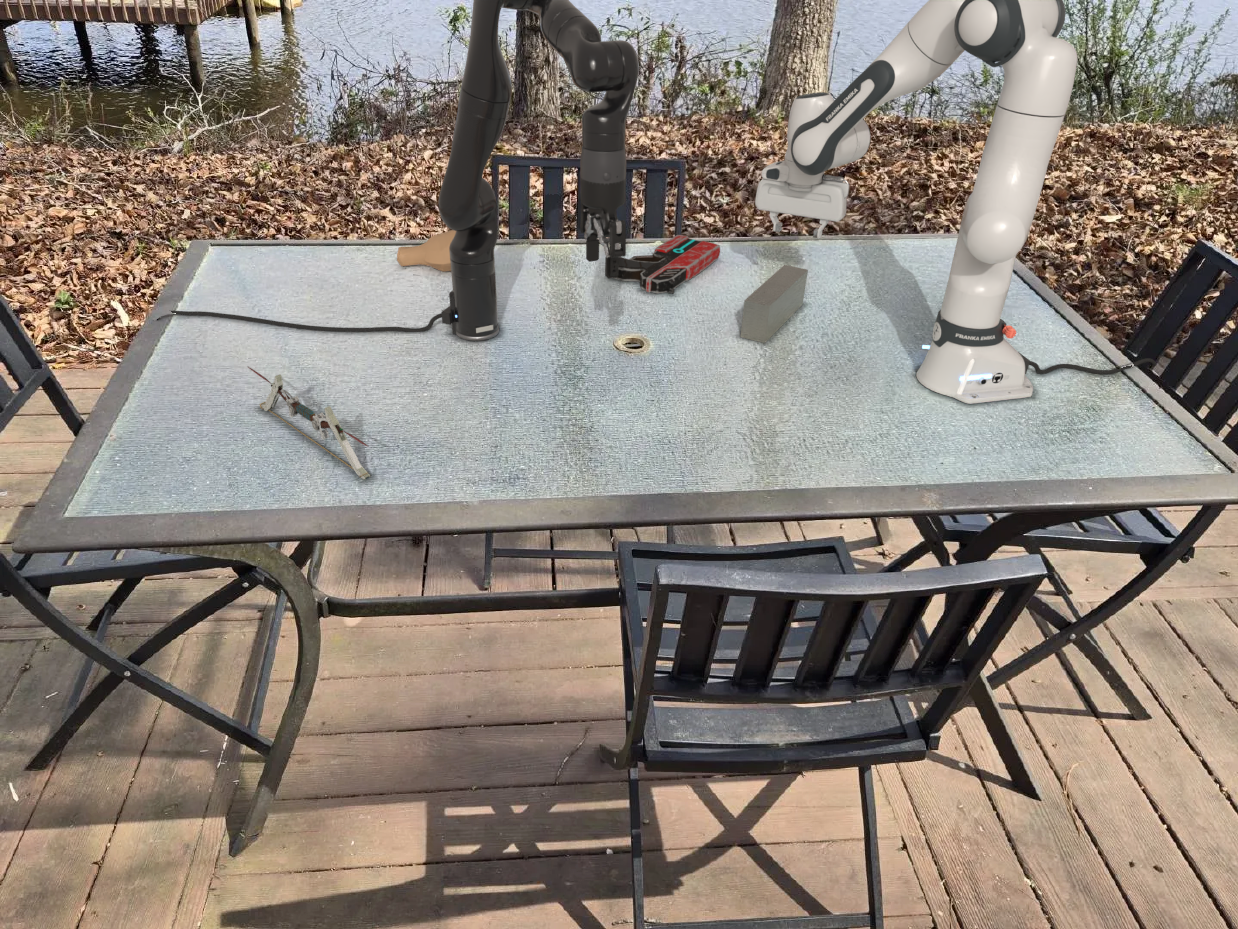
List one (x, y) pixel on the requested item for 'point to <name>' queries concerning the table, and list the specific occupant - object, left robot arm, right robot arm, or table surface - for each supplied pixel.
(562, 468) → the table surface
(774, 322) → the bar
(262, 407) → the bow
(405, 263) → the squash
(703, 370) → the table surface
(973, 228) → the right robot arm
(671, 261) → the gun
